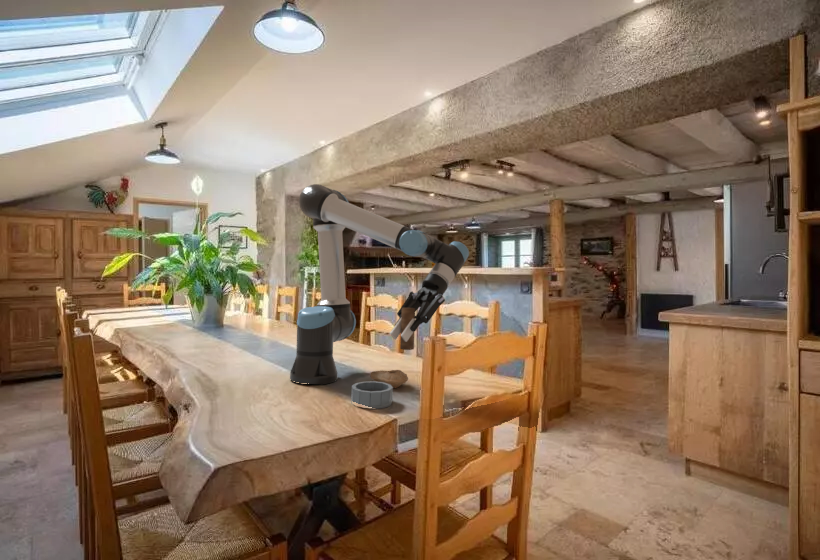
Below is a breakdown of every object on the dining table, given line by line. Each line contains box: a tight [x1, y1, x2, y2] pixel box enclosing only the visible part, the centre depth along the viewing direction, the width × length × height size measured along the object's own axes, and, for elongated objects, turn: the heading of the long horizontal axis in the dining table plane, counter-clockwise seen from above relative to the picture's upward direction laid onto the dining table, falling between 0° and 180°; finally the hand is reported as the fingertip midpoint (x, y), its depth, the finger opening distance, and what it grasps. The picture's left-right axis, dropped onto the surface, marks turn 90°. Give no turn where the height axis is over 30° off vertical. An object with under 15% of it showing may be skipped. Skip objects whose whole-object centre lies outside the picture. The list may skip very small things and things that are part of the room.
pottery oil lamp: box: [369, 369, 409, 389], centre depth 138 cm, size 9×12×7 cm
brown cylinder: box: [399, 308, 416, 351], centre depth 128 cm, size 4×4×12 cm
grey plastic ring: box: [350, 380, 394, 410], centre depth 119 cm, size 11×11×4 cm
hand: (398, 337), depth 125 cm, fingers closed on brown cylinder, 4 cm apart
